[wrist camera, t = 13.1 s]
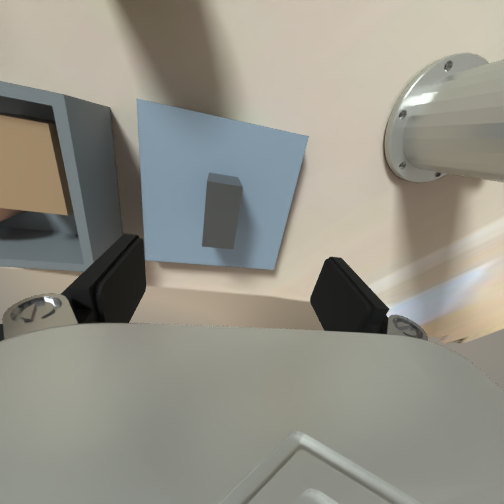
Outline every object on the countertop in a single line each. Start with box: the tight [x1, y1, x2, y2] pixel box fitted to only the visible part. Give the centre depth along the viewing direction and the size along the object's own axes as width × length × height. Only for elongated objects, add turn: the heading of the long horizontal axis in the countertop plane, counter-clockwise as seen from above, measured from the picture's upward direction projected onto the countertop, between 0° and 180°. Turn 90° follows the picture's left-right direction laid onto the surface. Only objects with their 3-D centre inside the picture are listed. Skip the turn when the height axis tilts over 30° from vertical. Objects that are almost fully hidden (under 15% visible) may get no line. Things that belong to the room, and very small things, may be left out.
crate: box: [0, 81, 123, 272], centre depth 19 cm, size 14×14×7 cm
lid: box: [137, 99, 309, 270], centre depth 22 cm, size 16×16×8 cm
